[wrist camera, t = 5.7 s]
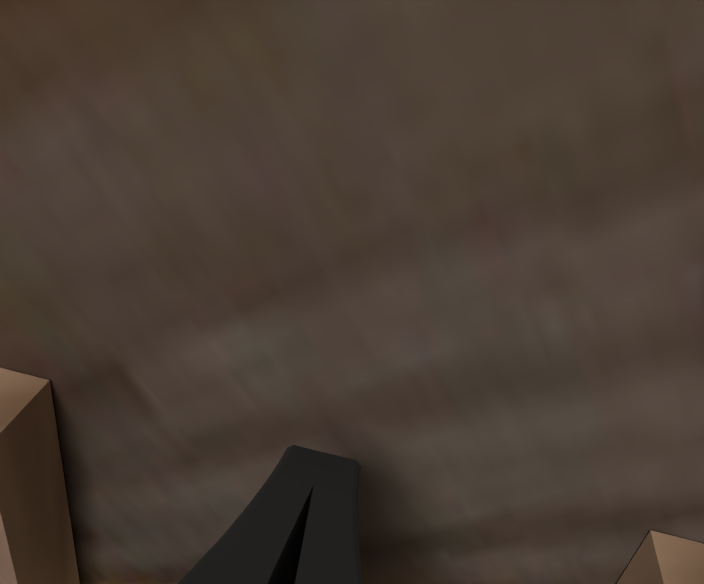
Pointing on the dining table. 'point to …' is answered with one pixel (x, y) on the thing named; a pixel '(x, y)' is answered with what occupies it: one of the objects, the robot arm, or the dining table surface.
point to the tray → (55, 525)
